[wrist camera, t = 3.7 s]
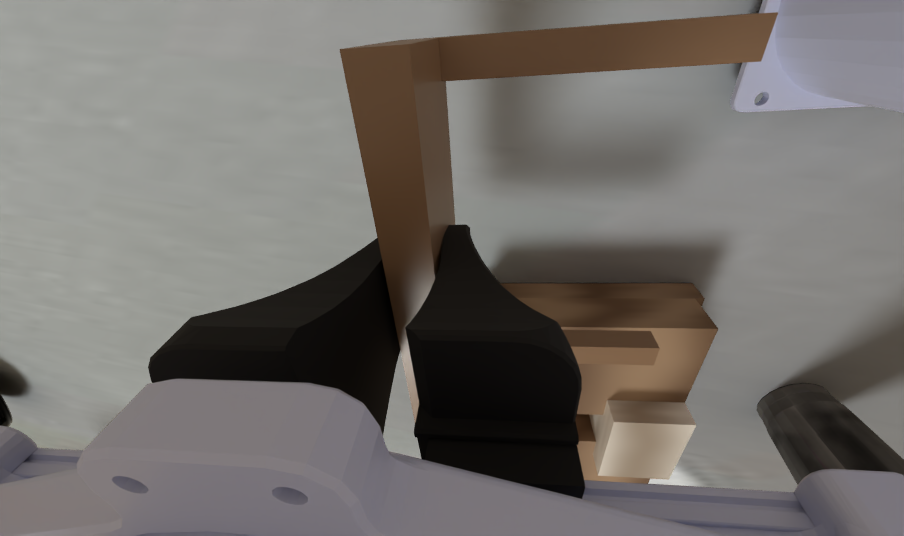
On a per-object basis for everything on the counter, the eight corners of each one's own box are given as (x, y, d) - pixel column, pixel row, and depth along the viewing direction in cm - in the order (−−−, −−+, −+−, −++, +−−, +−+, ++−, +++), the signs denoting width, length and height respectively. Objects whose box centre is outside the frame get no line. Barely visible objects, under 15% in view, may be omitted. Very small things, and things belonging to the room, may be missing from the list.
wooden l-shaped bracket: (752, 13, 9) (964, 3, 5) (645, 347, 16) (700, 461, 12) (400, 40, 10) (339, 49, 6) (437, 343, 17) (419, 446, 13)
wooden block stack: (692, 283, 22) (745, 350, 17) (631, 449, 32) (654, 521, 27) (461, 283, 23) (454, 345, 19) (471, 442, 33) (468, 508, 29)
